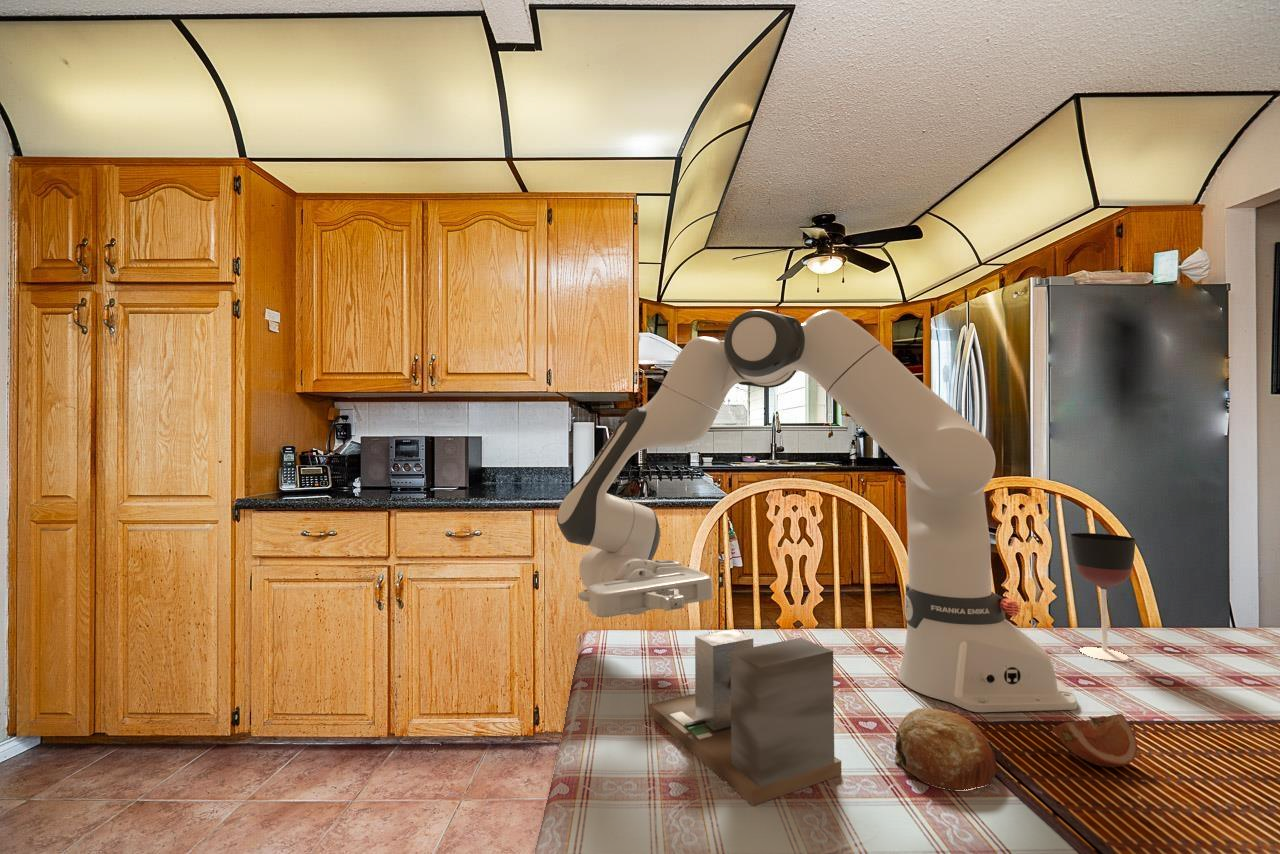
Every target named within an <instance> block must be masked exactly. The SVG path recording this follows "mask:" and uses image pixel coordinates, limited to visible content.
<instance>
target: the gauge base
mask: <svg viewBox="0 0 1280 854" xmlns="http://www.w3.org/2000/svg"><path fill="white" fill-rule="evenodd" d="M834 679H835V678H834V651H833V650H831V649H829V648H827V647H824V646H822V645H819V644H817V643H815V642H813V641H810V640H808V639H806V638H804V637H797V638H793V639H788V640H782V641H777V642H772V643H767V644H762V645H758V646H753V647H751V648H746V649H741V650H736V651H731V726H729V727H726V728H722V729H718V730H714V731H713V730H712V729H711V728H709V727H708V726H707V725H706V724H701V725H697V726H693V727H689V728H687V727H685V724H686V723H690V722H694V721H697V720H699V719H698V718H696V709H695V693H692V694H687V695H683V696H682V695H681V696H680V697H679V696H678V697H674V698H669V699H665V700H662V701H661V700H660V701H656V702H653V703H652V702H651V703H649V705H648V706H649V707H648V708H649V711H648V712H649V713H648V714H649V715H648V716H649V717H651V718H652V719H653V720H654V721H655V722H656V723H657V724H659V725H660V726H661V727H662V728H663V729H664V730H665V731H666V732H668V734H669V735H671V736H672V737H673V738H675V739H676V741H678V742H679V743H680V744H681V745H683V747H685V748H686V749H687V750H688V751H689V752H690V753H692V754H693V755H694V756H695V757H696V758H698V759H699V761H701V762H702V763H703V764H704V765H706V766H707V767H708V768H709V769H710V770H711V771H712V772H714V774H716V775H717V776H718V777H719V778H720V779H721V780H723V781H724V782H725V783H726V784H727V785H729V786H730V787H731V788H732V789H733V790H734V791H735V792H737V793H738V794H739V795H740V796H741V797H742V798H743V799H744V800H745V801H747V802H748V803H749V804H750V805H751V806H753V807H754V806H756V805H760V804H762V803H764V802H768V801H771V800H774V799H777V798H780V797H782V796H785V795H788V794H790V793H794V792H797V791H799V790H802V789H805V788H809V787H810V786H814V785H816V784H820V783H822V782H824V781H828V780H831V779H833V778H836V777H839V776H842V760H840V759H839V758H838V757H836V756H835V707H834V706H835V705H834V704H835V702H834V701H835V697H834V696H835V694H834V693H835V691H834V690H835V687H834V685H835V684H834Z"/></svg>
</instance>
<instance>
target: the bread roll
mask: <svg viewBox="0 0 1280 854" xmlns="http://www.w3.org/2000/svg"><path fill="white" fill-rule="evenodd" d="M895 734H896V735H895V744H894V746H895V748H894V750H895V751H896V754H895V756H894V760H895V761H894V762H895V763H896V764H899V765H900V766H901V767H902V768H903V767H904V768H903V769H905V770H906V771H907V772H908V773H909V774H910V773H911V774H910V775H912V776H914V777H915V776H916V777H915V778H917V780H919V779H920V780H921V781H920V780H919V781H920V782H922V781H923V782H922V783H924V782H926V783H929V784H930V785H934V786H937V787H941V788H945V789H950V790H964V789H965V790H966V789H967V790H968V789H971V788H975V787H976V788H977V787H981V786H985V785H987V784H989V785H990V784H991V782H992V781H993V780H994V778H995V775H996V770H997V766H998V764H997V760H996V757H995V752H994V751H995V749H993V748H994V747H993V745H992V742H991V741H990V740H989V739H987V738H986V736H985V735H984V734H983V733H982V731H981V730H980V729H979V727H978V726H977V725H975V724H974V723H973V722H971V721H970V719H967V718H965V717H964V716H962V715H960V714H958V713H955V712H951V711H947V710H946V711H945V710H941V709H937V708H931V707H925V708H924V707H922V708H916V709H914V710H912V711H910V712H909V713H907V715H905V717H904V718H903V719H902V720H901V722H900V724H899V726H898V729H897V731H896V733H895ZM926 783H925V784H926ZM930 785H929V786H930ZM950 790H949V791H950Z"/></svg>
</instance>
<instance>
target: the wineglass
mask: <svg viewBox="0 0 1280 854" xmlns="http://www.w3.org/2000/svg"><path fill="white" fill-rule="evenodd" d="M1070 544H1071V552H1072V557H1073V561H1074V565H1075V568H1076V571H1077V573H1078V574H1079V575H1080V576H1081V577H1082V578H1083V579H1084V580H1086V581H1088V582H1089V583H1090V584H1093V585H1095V586H1096V587H1098V588H1100V616H1101V621H1100V623H1101V647H1099V648H1097V647H1096V646H1082V647H1083V648H1081V647H1079V648H1080V649H1079V650H1080V652H1082V654H1081V655H1083V653H1084V654H1086V655H1087V657H1088V656H1090V657H1089V658H1091V657H1093V658H1092V659H1095V658H1098V659H1097V660H1099V659H1106V660H1107V659H1108V660H1126V659H1128V658H1129V657H1128V656H1127V655H1128V654H1127V655H1125V654H1126V653H1125V654H1123V653H1124V652H1122V651H1119V650H1115V649H1111V650H1109V648H1108V645H1109V644H1108V613H1107V612H1108V609H1107V606H1108V604H1107V589H1108V588H1109V589H1110V588H1111V587H1114V586H1118V585H1120V584H1122V583H1125V582H1126V581H1127V580H1129V578H1130V577H1131V573H1132V571H1133V570H1132V569H1133V566H1134V561H1135V560H1134V559H1135V551H1136V550H1135V549H1136V539H1135V538H1134V537H1131V536H1125V535H1118V534H1108V533H1092V532H1075V533H1071V534H1070ZM1114 650H1115V651H1114ZM1118 651H1119V652H1118ZM1080 652H1079V653H1080ZM1121 652H1122V653H1121ZM1086 655H1085V656H1086Z"/></svg>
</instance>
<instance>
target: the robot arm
mask: <svg viewBox="0 0 1280 854" xmlns="http://www.w3.org/2000/svg"><path fill="white" fill-rule="evenodd" d="M798 371H799V372H803V373H805V374H807V375H809V376H810V378H811V377H812V378H813V379H814V380H815V381H816V382H817V383H818V384H819V386H821V388H823V389H824V390H825V392H827V393H828V395H829V396H830V397H831V398H832V399H833V400H834V401H835V402H836V403H837V404H838V405H839V406H840V407H841V408H842V409H843V410H844V411H845V412H846V413H847V414H848V416H850V417H851V419H853V421H854V422H855V423H857V424H858V425H859V427H860V428H862V430H863V431H864V432H865V433H866V434H867V435H868V436H869V437H870V438H871V439H873V441H874V442H875V443H876V444H877V445H878V446H879V447H880V448H881V449H882V450H883V451H884V452H885V453H886V454H887V455H888V456H889V457H890V459H892V460H893V461H894V462H895V464H897V466H898V467H900V469H901V470H902V471H903V472H904V474H905V495H906V497H905V498H906V499H905V500H906V503H905V504H906V523H907V525H906V526H907V529H906V530H907V567H908V568H907V570H908V571H907V573H908V576H907V577H908V579H907V580H908V583H907V584H905V593H904V594H905V595H904V616H905V622H906V623H907V624H906V625H907V626H906V628H907V629H906V638H905V645H904V650H903V656H902V661H901V664H900V668H899V670H898V675H897V678H898V679H899V681H900V682H901V683H902V684H903V685H904V686H906V687H907V688H909V689H911V690H913V691H914V692H917V693H919V694H922V695H924V696H927V697H930V698H933V699H937V700H940V701H943V702H947V703H950V704H953V705H954V706H955V705H956V706H958V707H960V708H962V709H965V710H967V711H969V712H974V713H994V712H996V713H999V712H1033V711H1063V710H1064V711H1067V710H1068V711H1069V710H1077V708H1078V702H1077V701H1078V700H1077V697H1076V695H1075V693H1073V691H1072V690H1071V689H1069V687H1068V686H1066V685H1065V684H1064V683H1062V682H1061V681H1059V680H1058V679H1057V677H1056V672H1055V668H1054V665H1053V662H1052V659H1051V657H1050V656H1049V655H1050V654H1048V653H1047V651H1046V650H1045V649H1044V648H1043V647H1042V646H1041V645H1040V644H1039V643H1037V642H1036V641H1034V640H1033V639H1032V638H1031V637H1030V636H1028V635H1027V634H1026V633H1025V632H1024V631H1022V630H1021V629H1020V628H1018V627H1016V625H1014V624H1012V623H1011V622H1010V621H1008V619H1006V614H1008V615H1009V616H1010V617H1011V616H1012V617H1015V616H1018V615H1019V614H1020V613H1021V605H1020V604H1019V603H1018V602H1016V601H1014V600H1013V599H1011V598H1003V597H1002V596H1000V595H998V594H997V593H996V592H993V591H992V572H991V571H992V567H991V566H992V562H991V561H992V560H991V559H992V558H991V556H992V555H991V536H990V531H989V523H988V516H987V508H986V507H987V506H986V499H985V497H986V496H985V488H987V486H988V484H990V482H991V480H992V478H993V476H994V474H995V469H996V454H995V451H994V449H993V446H992V444H991V443H990V441H989V440H988V439H987V437H985V435H984V434H983V433H981V432H980V431H979V430H978V428H976V427H975V426H973V424H971V422H969V420H967V419H966V418H965V417H964V416H963V415H961V414H960V412H958V411H957V410H956V409H955V408H953V407H952V406H951V405H950V404H948V403H947V402H946V401H945V400H944V399H943V398H941V397H940V396H939V395H938V394H936V393H935V392H934V391H933V390H932V389H931V388H930V387H928V386H927V385H925V384H924V382H922V381H921V380H920V379H919V378H917V376H916V375H914V374H913V373H912V372H911V371H910V369H908V368H907V367H906V366H905V365H904V364H903V363H902V362H901V361H900V360H899V359H898V358H897V357H896V356H895V355H894V354H893V353H892V352H890V351H889V350H888V349H887V347H885V346H884V345H883V344H882V343H881V342H880V341H879V340H878V339H877V338H876V337H874V336H873V335H872V334H871V333H870V332H868V330H866V329H865V328H863V327H862V326H861V325H859V324H858V323H857V322H855V321H854V320H852V319H851V318H850V317H847V315H845V314H843V313H842V312H840V311H837V310H835V309H824V310H821V311H818V312H816V313H813V314H812V315H811V316H809V317H808V318H807V319H806V320H805V321H803V322H800V321H799V319H798V318H796V317H794V316H791V315H790V316H788V315H785V314H780V313H776V312H774V311H769V310H766V309H765V310H764V309H751V310H748V311H745V312H743V313H742V312H741V314H739V315H738V316H736V317H735V318H734V319H733V320H732V321H731V322H730V324H729V325H728V327H727V329H726V331H725V334H724V340H719V339H717V338H715V337H711V336H696V337H693V338H691V339H690V340H688V342H687V343H686V344H685V345H684V347H683V348H682V350H681V351H680V352H679V354H678V355H677V357H676V358H675V360H674V361H673V363H672V365H671V367H670V368H669V370H668V371H667V373H666V375H665V378H664V379H663V381H662V383H661V385H660V387H659V389H658V390H657V392H656V393H655V395H654V396H653V397H651V399H650V400H649V401H648V402H647V403H645V404H644V405H643V406H640V407H634V408H632V409H631V410H629V411H628V412H627V414H626V415H625V416H624V417H623V418H622V419H621V421H620V422H619V423H618V424H617V426H616V427H615V428H614V430H613V431H612V433H611V434H610V436H609V437H608V438H607V440H606V441H605V442H604V444H603V445H602V447H601V448H600V450H599V451H598V453H597V455H596V456H595V457H594V459H593V460H592V462H591V463H590V464H589V466H588V468H587V469H586V470H585V471H584V473H583V474H582V476H581V478H579V480H578V481H577V482H576V483H575V484H574V486H572V488H571V489H570V490H569V491H568V492H567V494H565V496H564V498H563V499H562V501H561V503H560V506H559V507H558V510H557V516H556V522H557V525H558V528H559V530H560V532H561V534H562V535H563V537H564V538H565V540H566V541H567V543H570V544H576V545H582V546H585V547H586V546H587V547H588V546H590V547H593V549H591V550H590V551H588V552H586V553H585V554H584V556H583V557H582V559H581V560H580V563H579V567H578V569H579V577H580V580H581V582H582V584H583V586H584V587H585V589H583V591H582V592H578V595H577V597H578V599H579V600H580V601H581V602H585V603H587V608H588V610H589V611H590V612H591V613H592V614H593V615H595V616H596V617H597V618H610V617H617V616H623V615H633V616H634V615H635V616H636V615H638V616H639V615H641V614H644V613H646V612H648V611H652V610H663V611H665V612H668V611H674V610H682V609H684V608H685V605H688V604H694V603H699V602H704V601H710V600H711V599H712V598H713V593H714V592H713V591H714V590H713V588H714V587H713V586H714V584H713V579H712V577H711V576H710V575H709V574H707V573H705V572H703V571H700V570H698V569H695V568H691V567H688V566H682V563H681V561H677V560H670V559H669V560H653V559H654V556H655V555H656V552H657V550H658V547H659V545H660V539H661V528H660V524H659V519H658V517H657V515H656V513H655V511H654V510H653V508H651V507H647V506H645V505H643V504H641V503H637V502H634V501H631V500H627V499H624V498H621V497H619V496H616V495H613V494H611V493H607V492H608V490H609V488H610V487H611V486H612V484H613V483H614V481H615V480H616V478H617V477H618V475H619V474H620V473H621V471H622V470H623V468H624V467H625V466H626V463H627V462H628V460H629V459H630V458H631V457H632V456H633V455H635V454H636V453H638V452H639V451H643V450H647V449H650V448H651V449H652V448H678V447H685V446H688V445H692V444H694V443H696V442H698V441H700V440H701V439H702V438H704V437H705V436H706V435H707V433H708V431H709V430H710V428H711V427H712V425H713V423H714V421H715V420H716V418H717V415H718V413H719V411H720V409H721V407H722V404H723V402H724V401H725V399H726V397H727V394H728V393H729V392H730V390H731V389H732V388H733V387H734V386H735V385H736V384H738V385H741V386H750V387H757V388H765V389H768V388H776V387H781V386H782V385H784V384H786V383H787V382H789V381H790V380H791V379H793V377H794V376H795V374H796V372H798Z"/></svg>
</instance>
